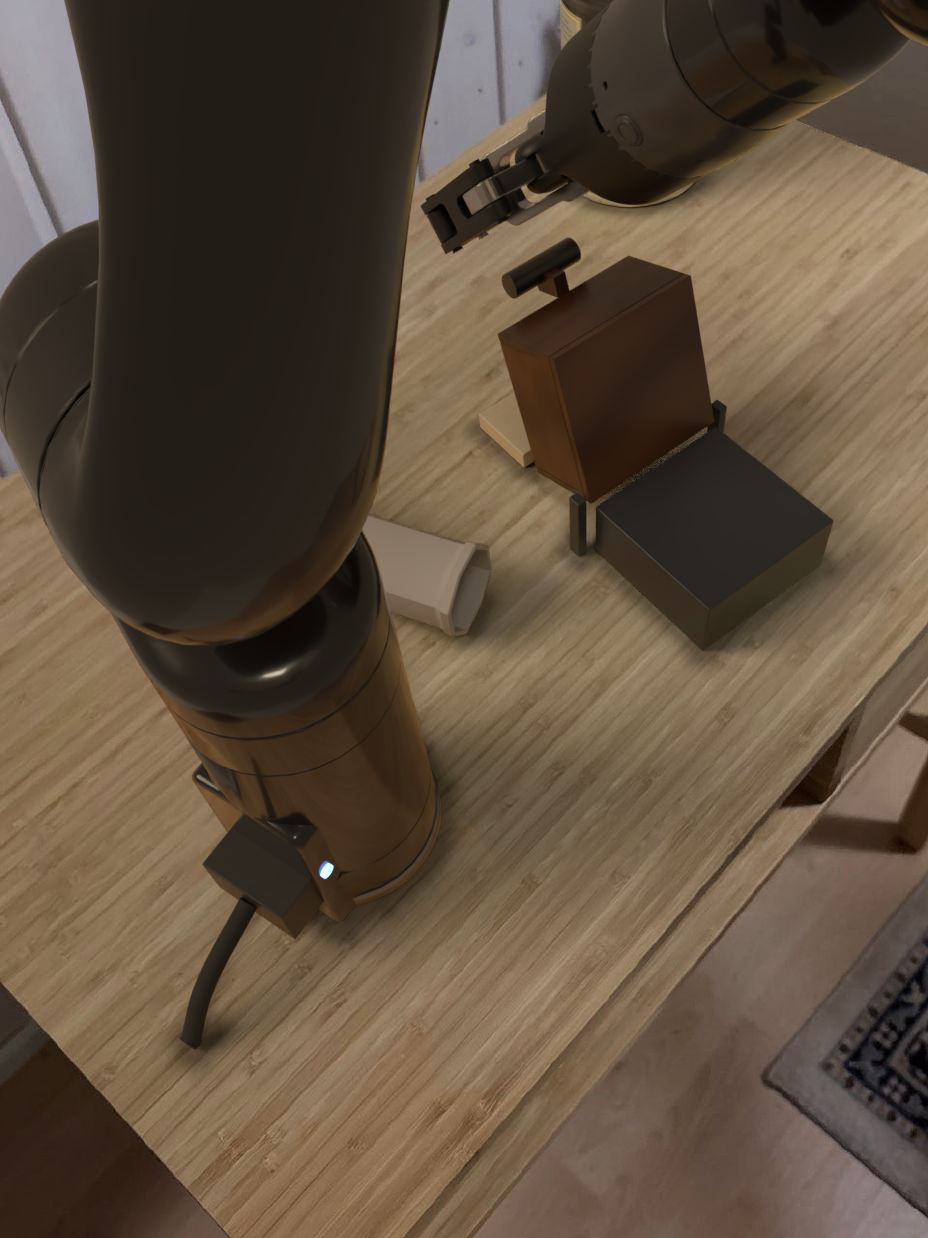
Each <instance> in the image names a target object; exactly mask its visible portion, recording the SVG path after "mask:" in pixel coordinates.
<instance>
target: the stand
mask: <svg viewBox="0 0 928 1238" xmlns="http://www.w3.org/2000/svg"><path fill="white" fill-rule="evenodd" d="M711 404H712V410H713V416H714V422H713V423H712V424H710V425H709V426H707V427H706V433H704V434H703V435H701V436H700V437H698V438H696V439H695V440H694V441H692V442H691V443H689V444H687V445H686V446H685V447H683V448H682V449H680V450H678V451H677V452H675V453H674V454H673V455H672V456H670V457H668V458H667V459H666V460H664V461H662V462H661V463H659V464H657V466H654V467H653V468H652V469H650V470H649V471H648V472H646V473H645V474H643V475H641V476H640V477H639V478H636V479H635V480H634V481H632V482H631V483H630V484H628V485H626V486H625V487H623V488H622V489H620V490H619V491H618V492H616V493H614V494H613V495H611V496H610V497H609V498H606V499H605V500H604V501H603V502H601V503H599V504H598V505H597V506H595V533H594V535H595V538H594V539H595V540H594V542H595V543H594V544H595V545H594V546H595V548H594V549H595V551H596V552H597V553H598V554H599V555H600V556H601V557H602V558H603V559H604V560H605V561H606V562H608V563H609V564H610V565H611V567H613V569H615V570H616V571H617V572H618V573H619V574H620V575H621V576H622V577H623V578H624V579H626V580H627V581H628V582H629V583H630V584H631V585H632V586H633V587H634V588H635V589H636V590H638V591H639V593H640V594H642V595H643V596H644V597H645V598H646V599H647V600H648V602H651V604H653V606H655V607H656V609H658V610H659V611H660V612H661V613H662V614H663V615H664V616H665V617H666V618H667V619H668V620H669V621H670V622H672V623H673V625H675V626H676V627H677V628H678V629H679V630H680V631H681V632H682V633H683V634H684V635H685V636H686V637H688V638H689V640H691V641H692V643H694V644H695V645H696V646H697V647H698V648H700V650H701V651H705V650H706V649H708V648H709V647H711V646H712V645H714V644H715V643H716V642H717V641H719V640H720V639H721V638H723V637H724V636H725V635H727V634H728V633H730V631H732V630H734V629H735V628H736V627H738V626H739V625H740V624H742V623H743V622H744V621H747V619H748V618H750V617H751V616H753V615H754V614H755V613H757V612H758V611H759V610H761V609H762V608H764V606H767V604H770V602H771V601H773V600H774V599H775V598H777V597H779V595H781V594H783V593H784V592H785V591H786V590H788V589H790V588H791V587H792V586H794V585H795V584H797V582H799V581H801V580H802V579H803V578H804V577H805V576H807V575H808V574H809V573H811V572H813V570H815V569H816V568H818V567H819V566H820V565H821V564H822V562H823V559H824V555H825V552H826V549H827V545H828V541H829V538H830V535H831V531H832V528H833V524H834V519H833V518H831V517H830V516H829V515H828V514H826V513H825V512H824V511H823V510H821V509H820V508H819V507H817V505H816V504H814V503H812V502H811V501H810V500H809V499H808V498H807V497H805V496H804V495H802V494H801V493H800V492H799V491H797V489H795V488H794V487H792V486H791V485H790V484H789V483H787V482H786V481H785V480H783V478H781V477H780V476H779V475H777V474H776V473H775V472H774V471H772V469H770V468H768V467H767V466H766V465H765V464H764V463H762V462H761V461H760V460H758V459H757V458H756V457H755V456H753V455H752V454H751V453H749V451H747V450H746V449H745V448H743V447H742V446H741V445H739V444H738V443H737V442H736V441H735V440H733V438H731V437H730V436H729V435H727V434H726V433H724V432H725V426H726V425H725V424H726V418H727V410H728V406H727V405H726V404H724V403H723V402H722V401H721V400H719V399H716V400H714V401H712V402H711ZM568 507H569V508H568V509H569V511H568V512H569V548H570V550H571V551H572V552H573V553H574V554H575V555H576V556H577V557H580V556H583V554H585V553H586V552H587V550H588V549H587V548H588V547H587V545H588V543H587V541H588V540H587V501H586V500H585V499H584V498H583V497H582V496H581V495H580V494H579V493H578V492H577V493H575V494H574V493H573V494H572V495H571V496H569V498H568Z"/></svg>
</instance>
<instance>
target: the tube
mask: <svg viewBox="0 0 928 1238" xmlns="http://www.w3.org/2000/svg"><path fill="white" fill-rule="evenodd" d="M362 530H363V531H364V533H365V535H366V537H367V539H368V541H369V544H370V546H371V548H372V550H373V552H374V555H375V557H376V560H377V563H378V567H379V570H380V573H381V577H382V580H383V584H384V588H385V592H386V596H387V600H388V603H389V607H390V611H391V613H394V614H396V615H400V616H402V617H406V618H409V619H410V620H411V619H412V620H415V621H418V622H421V623H423V624H427V625H430V626H433V627H436V628H438V629H441V630H442V631H443V634H444V635H446V636H449V637H460V636H466V635H467V634H468V632H469V630H470V628H471V626H472V624H473V622H474V620H475V618H476V616H477V614H478V612H479V610H480V609H481V606H482V604H483V602H484V598H485V594H486V590H487V587H488V583H489V579H490V576H491V573H492V563H491V555H490V547H489V545H488V544H484V543H481V542H474V541H473V542H472V541H466V542H463V541H460V540H457V539H454V538H450V537H447V536H443V535H439V534H437V533H435V532H432V531H431V532H430V531H427V530H424V529H421V528H418V527H417V528H416V527H414V526H411V525H407V524H404V523H400V522H397V521H394V520H391V519H388V518H384V517H381V516H379V515H378V516H377V515H374V514H371V513H369V516H368V519H367V521H366V523H365V525H364V527H363V529H362Z"/></svg>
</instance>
